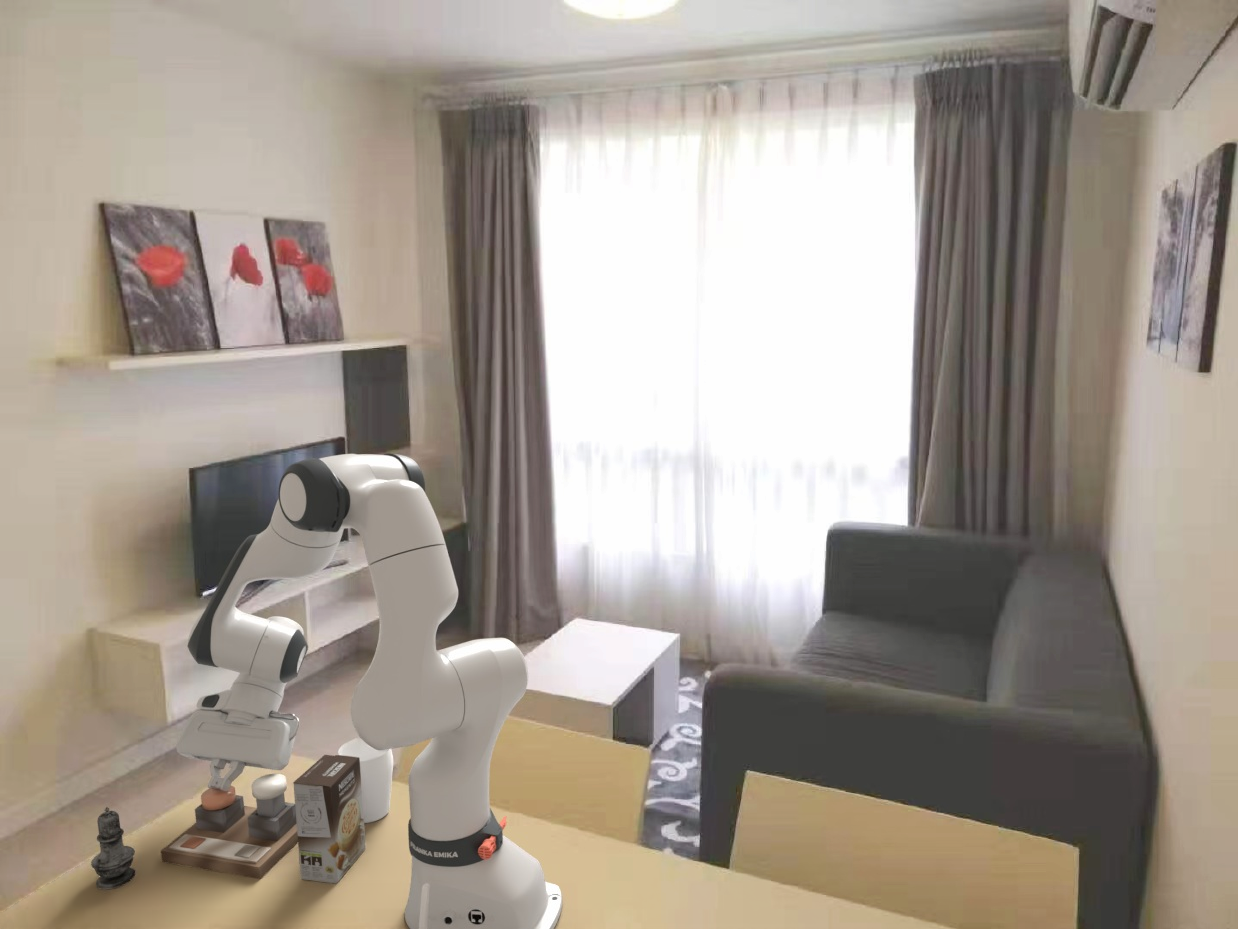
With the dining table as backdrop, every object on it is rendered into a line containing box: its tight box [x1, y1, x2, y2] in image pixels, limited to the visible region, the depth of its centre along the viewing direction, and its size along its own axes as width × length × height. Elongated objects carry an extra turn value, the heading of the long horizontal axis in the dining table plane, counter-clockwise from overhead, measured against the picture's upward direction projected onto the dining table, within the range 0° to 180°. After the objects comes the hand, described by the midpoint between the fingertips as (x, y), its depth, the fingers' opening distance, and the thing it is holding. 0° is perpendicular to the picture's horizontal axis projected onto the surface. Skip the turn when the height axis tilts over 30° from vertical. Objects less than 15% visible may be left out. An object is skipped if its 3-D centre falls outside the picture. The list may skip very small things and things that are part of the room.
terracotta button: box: [200, 785, 237, 810], centre depth 145 cm, size 5×5×5 cm
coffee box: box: [292, 754, 366, 884], centre depth 136 cm, size 9×6×16 cm
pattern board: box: [160, 794, 298, 880], centre depth 143 cm, size 18×14×6 cm
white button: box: [251, 773, 288, 818], centre depth 142 cm, size 5×5×5 cm
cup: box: [337, 737, 394, 824], centre depth 150 cm, size 9×9×12 cm
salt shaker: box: [90, 806, 136, 891], centre depth 134 cm, size 6×6×12 cm
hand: (217, 790), depth 145 cm, fingers closed, pressing on terracotta button
